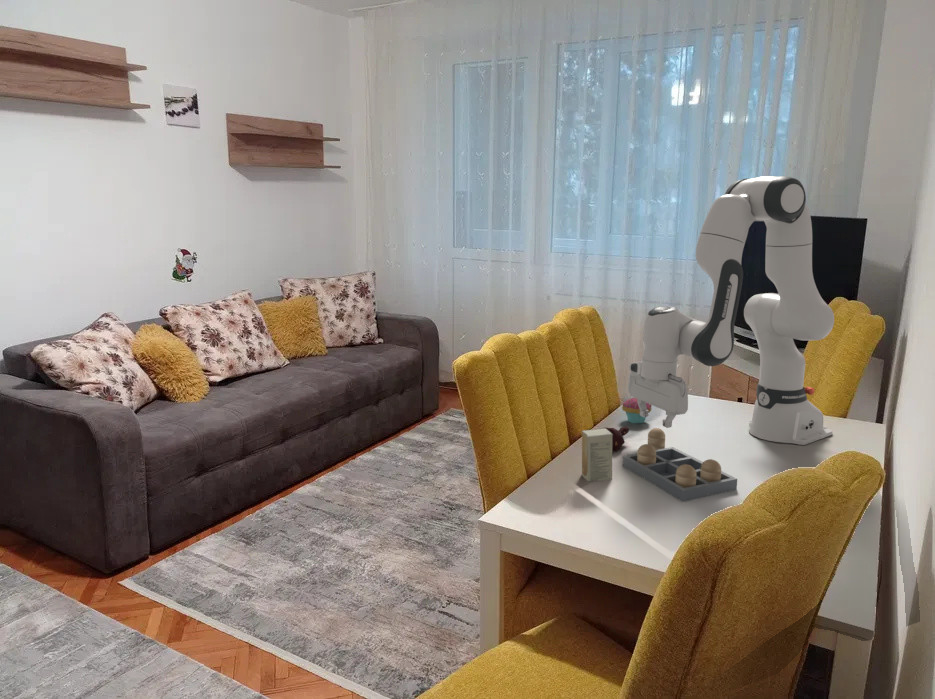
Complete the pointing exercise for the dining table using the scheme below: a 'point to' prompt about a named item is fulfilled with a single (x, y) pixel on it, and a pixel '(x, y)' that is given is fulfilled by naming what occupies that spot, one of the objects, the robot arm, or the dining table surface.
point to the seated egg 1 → (646, 454)
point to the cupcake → (634, 410)
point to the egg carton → (665, 474)
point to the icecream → (618, 437)
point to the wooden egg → (656, 438)
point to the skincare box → (597, 454)
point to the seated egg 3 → (710, 471)
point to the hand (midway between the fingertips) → (655, 421)
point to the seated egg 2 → (685, 476)
